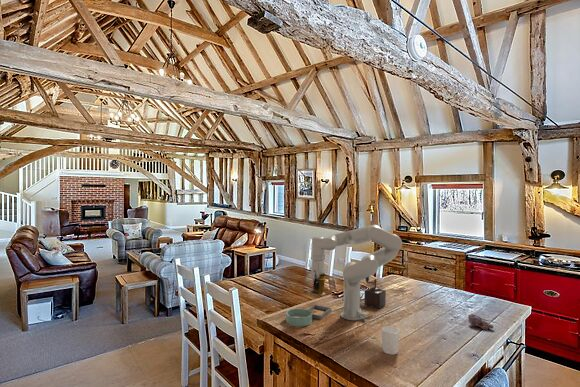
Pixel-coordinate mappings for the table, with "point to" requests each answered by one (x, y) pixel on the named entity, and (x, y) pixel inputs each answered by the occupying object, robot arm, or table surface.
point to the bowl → (299, 317)
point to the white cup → (390, 339)
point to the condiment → (321, 286)
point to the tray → (321, 309)
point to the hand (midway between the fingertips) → (318, 287)
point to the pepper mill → (374, 296)
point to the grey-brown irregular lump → (479, 322)
